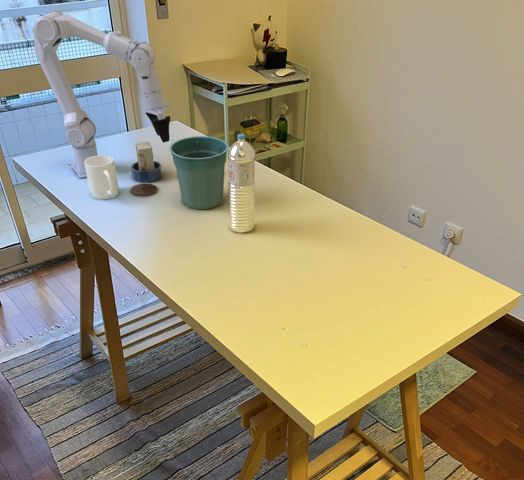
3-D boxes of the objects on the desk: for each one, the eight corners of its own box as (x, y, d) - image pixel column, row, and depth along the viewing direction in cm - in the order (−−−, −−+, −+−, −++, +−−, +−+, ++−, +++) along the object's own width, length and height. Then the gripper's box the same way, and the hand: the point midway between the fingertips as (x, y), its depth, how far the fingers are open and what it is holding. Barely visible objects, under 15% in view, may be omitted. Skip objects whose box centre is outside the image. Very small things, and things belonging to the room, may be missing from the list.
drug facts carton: (139, 174, 173) (134, 142, 167) (152, 172, 175) (148, 141, 168) (142, 180, 170) (138, 148, 163) (156, 178, 171) (152, 147, 164)
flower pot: (204, 219, 151) (201, 162, 140) (162, 202, 158) (156, 147, 148) (241, 199, 161) (240, 145, 150) (200, 184, 168) (197, 132, 158)
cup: (113, 185, 167) (107, 153, 160) (128, 200, 159) (123, 167, 152) (87, 191, 163) (80, 158, 156) (101, 207, 156) (94, 173, 149)
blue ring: (129, 174, 174) (127, 163, 171) (156, 168, 177) (155, 158, 175) (138, 184, 168) (136, 173, 165) (166, 179, 171) (165, 168, 169)
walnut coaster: (127, 188, 165) (126, 186, 165) (152, 183, 168) (151, 181, 168) (135, 198, 160) (135, 196, 160) (161, 193, 163) (160, 191, 163)
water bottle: (251, 234, 145) (251, 140, 128) (226, 232, 145) (224, 138, 129) (256, 223, 150) (257, 131, 133) (232, 220, 151) (230, 129, 134)
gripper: (169, 92, 152) (181, 141, 161) (159, 82, 163) (170, 128, 171) (145, 98, 151) (158, 147, 159) (137, 88, 161) (149, 134, 170)
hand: (163, 138), depth 165 cm, fingers open, 7 cm apart
